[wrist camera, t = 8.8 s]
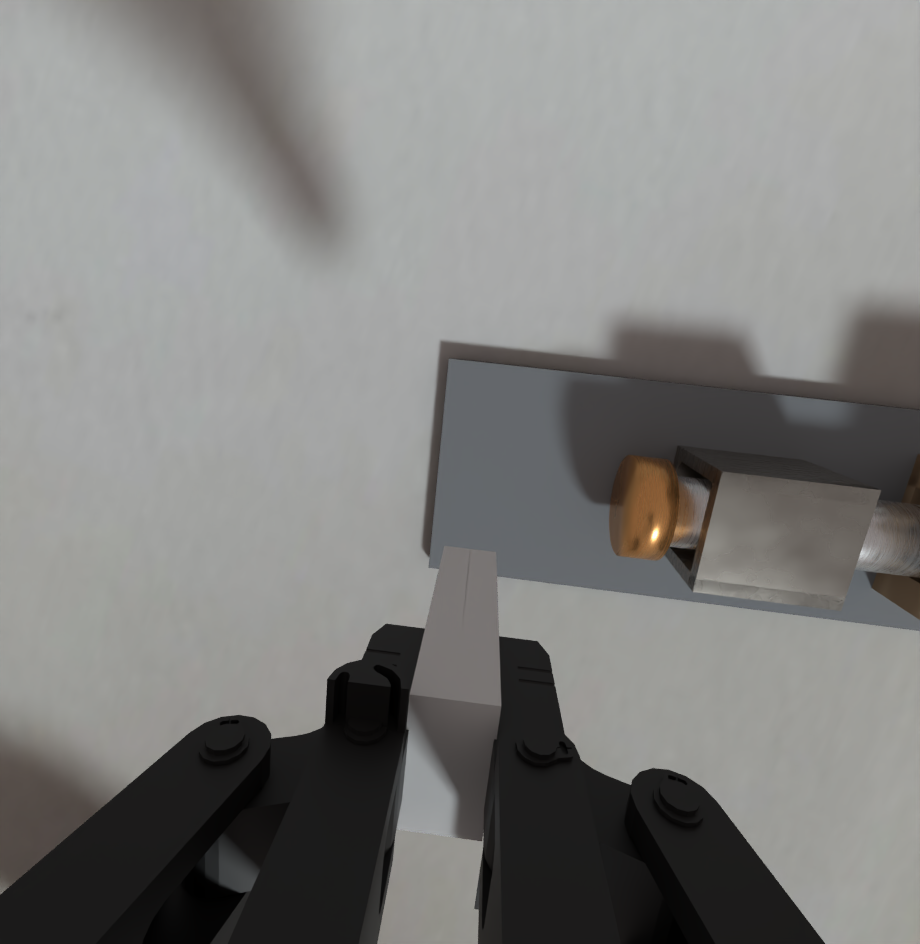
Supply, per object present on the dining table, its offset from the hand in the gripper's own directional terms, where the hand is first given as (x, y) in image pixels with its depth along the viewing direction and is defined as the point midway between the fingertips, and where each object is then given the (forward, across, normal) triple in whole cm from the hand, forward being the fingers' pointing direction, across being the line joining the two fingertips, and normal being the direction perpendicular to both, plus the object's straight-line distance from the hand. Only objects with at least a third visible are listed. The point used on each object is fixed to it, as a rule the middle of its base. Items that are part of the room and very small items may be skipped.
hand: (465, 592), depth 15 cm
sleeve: (+12, +12, +1) cm, 17 cm away
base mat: (+12, +12, +1) cm, 17 cm away
